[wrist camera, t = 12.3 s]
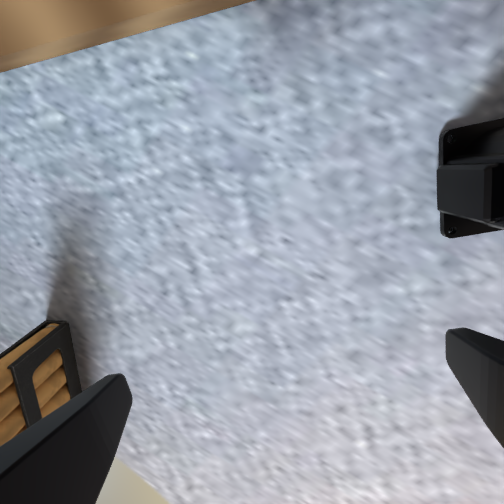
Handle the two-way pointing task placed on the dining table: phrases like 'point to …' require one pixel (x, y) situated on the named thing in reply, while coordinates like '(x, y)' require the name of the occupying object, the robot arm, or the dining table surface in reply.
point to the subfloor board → (85, 24)
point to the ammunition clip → (36, 377)
